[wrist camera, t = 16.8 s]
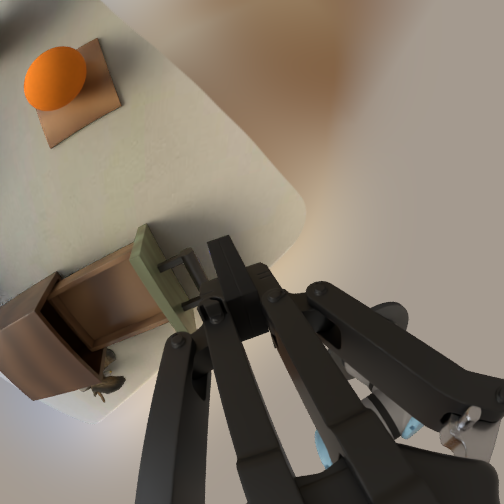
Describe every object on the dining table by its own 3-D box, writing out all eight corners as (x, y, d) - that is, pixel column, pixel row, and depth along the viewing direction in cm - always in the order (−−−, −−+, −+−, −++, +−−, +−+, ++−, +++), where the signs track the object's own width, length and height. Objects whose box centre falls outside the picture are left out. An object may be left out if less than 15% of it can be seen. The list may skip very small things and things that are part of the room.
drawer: (178, 208, 31) (180, 236, 24) (220, 293, 38) (233, 333, 31) (47, 277, 30) (25, 314, 22) (99, 343, 36) (92, 384, 29)
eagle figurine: (117, 391, 41) (136, 375, 38) (94, 411, 34) (110, 398, 31) (90, 360, 41) (106, 339, 38) (65, 377, 34) (77, 358, 31)
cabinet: (56, 271, 30) (34, 310, 22) (108, 338, 37) (102, 382, 29) (-4, 309, 28) (-24, 344, 21) (43, 363, 35) (32, 401, 28)
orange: (101, 97, 21) (73, 66, 14) (48, 131, 21) (12, 112, 14) (91, 55, 20) (68, 23, 13) (42, 86, 20) (12, 63, 13)
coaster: (121, 105, 24) (121, 105, 24) (51, 148, 23) (50, 148, 23) (98, 38, 19) (97, 37, 19) (29, 82, 18) (27, 82, 18)
